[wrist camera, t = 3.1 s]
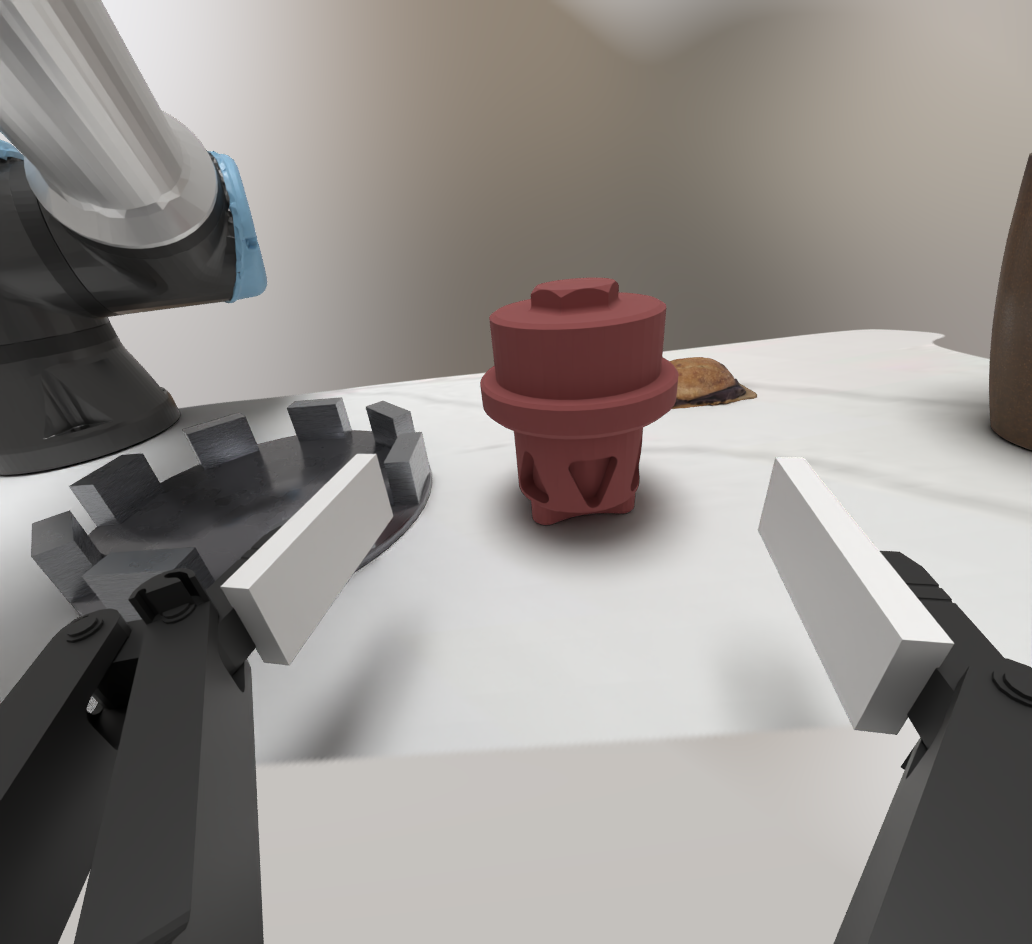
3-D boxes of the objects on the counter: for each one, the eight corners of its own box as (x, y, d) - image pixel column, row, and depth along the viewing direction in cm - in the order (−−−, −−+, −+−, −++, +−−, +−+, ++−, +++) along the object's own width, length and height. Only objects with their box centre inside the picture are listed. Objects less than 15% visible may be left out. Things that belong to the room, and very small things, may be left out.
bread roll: (716, 377, 45) (722, 341, 43) (763, 407, 38) (772, 364, 36) (615, 388, 45) (616, 352, 43) (642, 419, 37) (645, 377, 36)
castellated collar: (216, 446, 39) (197, 408, 37) (450, 428, 38) (443, 388, 36) (-51, 647, 20) (-112, 591, 19) (389, 621, 20) (369, 560, 18)
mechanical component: (700, 502, 25) (574, 585, 21) (580, 448, 33) (466, 500, 28) (736, 271, 19) (569, 312, 14) (578, 267, 26) (431, 293, 22)
